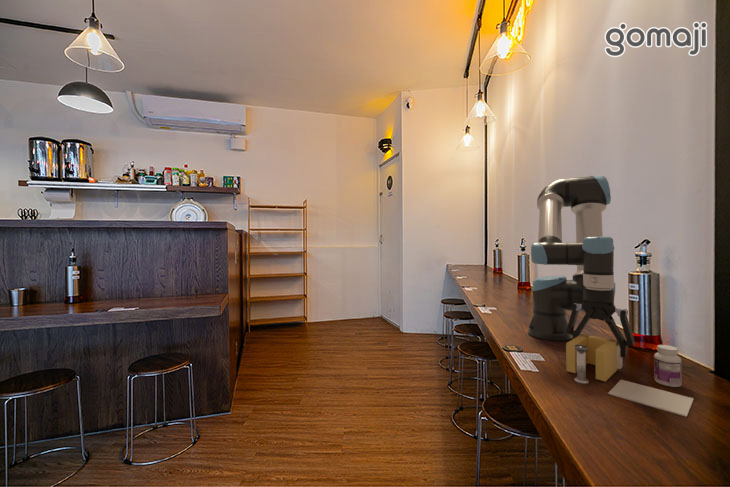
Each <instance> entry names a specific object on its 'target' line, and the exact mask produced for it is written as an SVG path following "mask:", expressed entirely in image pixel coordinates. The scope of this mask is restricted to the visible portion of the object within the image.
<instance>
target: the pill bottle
mask: <svg viewBox="0 0 730 487" xmlns="http://www.w3.org/2000/svg"><path fill="white" fill-rule="evenodd" d="M656 347H657V348H656V349H657V352H655V353H654V355H653V361H654V362H653V377H654V381H655V382H656V383H658V384H659V385H662V386H666V387H671V388H679V387H682V358H681V357H680V356H679V355H678V354H679V353H678V352H679V349H678V348H677V347H676V346H672V345H668V344H658V345H657V346H656Z"/></svg>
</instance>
